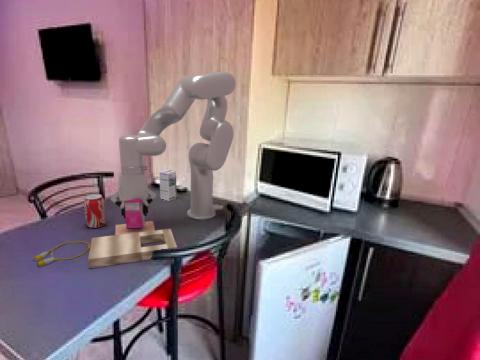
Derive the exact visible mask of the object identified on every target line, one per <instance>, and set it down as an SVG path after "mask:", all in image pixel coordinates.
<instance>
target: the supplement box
mask: <svg viewBox="0 0 480 360" xmlns="http://www.w3.org/2000/svg"><path fill="white" fill-rule="evenodd" d="M124 206H125V217H126V218H125V224H126V229H142V228H143V226H144V224H145V222H146V219H145V218H146V216H145V215H144V202H143V201H142V200H141V199H139V200H128V201H124Z"/></svg>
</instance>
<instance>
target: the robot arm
mask: <svg viewBox="0 0 480 360" xmlns="http://www.w3.org/2000/svg"><path fill="white" fill-rule="evenodd" d="M236 86H237V84H236V79H235V76H234V75H233V74H232V73H230V72H229V71H228V72H227V71H213V72H212V71H211V72H207V73H205V74H193V75H192V74H190V75H189V74H188V75H184V76H183V77H181V78H180V79H179V81H178V82H177V83H176V85H175V87H174V88H173V90H172V92H171V93H169V95H168V97H167V99H165V101H164V103H163V105H161V107H160V108H158V109H157V110H156V111H154V113H152V114H151V116H149V117H148V119H147V120H146V121H145V122H144V124H143V125H142V127H141V128H140V129H139V131H138V133H137V134H126V135H121V136H120V137H119V139H118V144H119V158H120V173H119V175H118V190H117V191H116V192H115V193H114V194H112V196H111V197H110V201H111V202H112V203H114V204H115V205H116V206H117V207H119V208H120V213H121V217H123V219H125V220H126V217H125V205H124V201H128V200H139V199H141V200H142V201H143V202H144V215H145V217H147V216H148V215H147V214H149V205H151V203H152V202H153V201H154V200H155V198H156V197H157V193H155V192H154V191H153V190H151V189H150V188H149V186H148V185H149V184H148V178H147V174H146V172H145V171H147V170H148V166H145V165H144V157H143V156H149V157H150V156H151V157H156V156H160V155H162V154H163V153H165V151H166V150H167V143H166V141H165V139H164V138H163V137H162V136H160V135H161V134H162V132H163V131H164V130H165V129H166V128H168V127H169V126H171V125H173V124H174V125H175V124H176V123H177V124H178V123H179V122H180V121H182V120H183V119H184V117H185V116H186V114H187V113H188V111H189V110H190V108H191V106H192V105H193V103H194V102H195V101H196V100H206V101H207V104H206V109H205V112H204V116H203V118H202V121H201V124H200V126H199V127H200V128H199V136H200V137H201V138H202V139H203V140H204V141H207V142H209V144H208V143H204V142H195V143H194V144H193V145H192V146H191V147H190V148H189V149H188V161H189V168H190V169H189V170H190V208H189V209H187V211H186V212H187V213H186V215H187V217H188V218H190V219H193V220H196V221H197V220H200V221H201V220H204V221H205V220H210V219H214V218H215V216H216V215H217V212H216V211H219V210H221V211H222V210H224V205H222V204H221V205H219V204H218V203H216V204H214V201H213V199H214V197H213V196H214V195H213V194H214V172H213V171H218V170H220V169H221V168H222V167H224V165H225V163H226V160H227V157H228V155H229V152H230V148H231V146H232V143H233V140H234V134H235V133H234V127H233V125H232V124H231V123H230V122H229V121H227V120H226V116H227V112H228V101H227V97H226V96H229V95H231V94H232V93H234V91H235V89H236ZM149 195H150V197H149ZM117 198H119V200H118V199H117Z"/></svg>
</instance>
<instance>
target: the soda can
mask: <svg viewBox="0 0 480 360" xmlns="http://www.w3.org/2000/svg"><path fill="white" fill-rule="evenodd" d="M83 207H84V216H85V217H84V218H85V223H86V227H88V228H92V229H97V228H101V227H103V226H104V225H105V224H106V222H107V217H106V216H107V215H106V204H105V199H104V198H103V195H102V194H100V193H92V194H87V195H85V196H84V201H83Z"/></svg>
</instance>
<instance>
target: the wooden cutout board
mask: <svg viewBox="0 0 480 360" xmlns="http://www.w3.org/2000/svg"><path fill="white" fill-rule="evenodd" d="M157 242H158V243H159V242H163V244H158V245H150V246H142V245H143V244H144V245H145V244H149V243H157ZM175 248H177V249H178V245H177V243H176V240H175V238H174V235H173V232H172V229H171V228H165V229H158V230H156V229H155V231H147V232H139V233H130V234H122V235H115V234H114V235H108V236H107V235H105V236H97V237H91V242H90V248H89V251H88V252H89V253H88V259H87V261H88V269H94V268H101V267H107V266H113V265H120V264H127V263H134V262H140V261H147V260H152V259H151V257H152V252H153V251H155V250H161V249H175Z"/></svg>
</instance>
